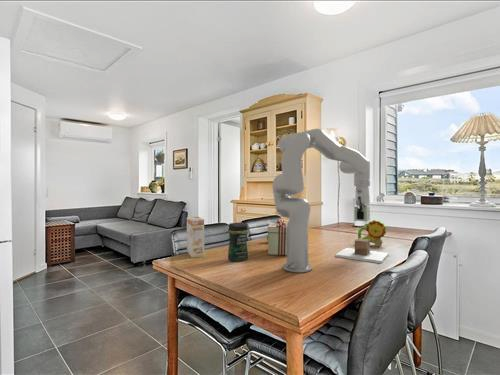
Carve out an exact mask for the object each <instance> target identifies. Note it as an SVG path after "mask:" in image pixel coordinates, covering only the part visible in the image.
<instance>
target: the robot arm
mask: <svg viewBox="0 0 500 375" xmlns="http://www.w3.org/2000/svg"><path fill="white" fill-rule="evenodd" d="M278 149H279V151H280V152H281V153H283V154H282V156H281V173H280V174H277V175H276V176H275V177H274V179H273V180H272V194H273V199H274V206H275V210H276V212H277V214H278V215H279V216H281V217H284V218H288V221H287V223H288V224H287V229H286V233H287V255H286V262H285V263H284V264H283V265H282V269H283V270H285V271H287V272H291V273H300V274H301V273H307V272H308V273H309V272H310V271H312V270H313V266H312V265H311V264H309V220H310V215H311V205H310V202H309V201H308V200H307V199H305V198H303V197H296V196H295V195H299V194H301V193H302V192H303V190H304V187H305V186H304V178H303V176H304V175H303V171H302V159H303V156H304V154H305V153H306V151H307V150H308V149H314V150H316V151H317V152H319V153H320V154H321V155H323V156H324V157H325V158H326V159H328V160H332V161H335V162H336V161H337V162H339V165H338V166H339V168H338V169H339V170H340V171H341V173H343V174H346V175H347V174H349V175H351V174H353V175H354V176H353V179H354V180H353V181H354V182H353V187H355V194H354V195H355V198H354V199H355V200H354V201H355V206H357V219H364V211H363V206H370V203H371V201H370V199H371V198H370V186H371V162H370V160H369V159H368V158H366V157H365V156H364V155H362V153H361V152H359V151H358V150H355V149H353V148H352V147H348V146H346V145H343V144H340V143H339V142H338V141H336V140H335V139H334V138H332V137H331V136H330V135H329V134H328V133H327V132H325V131H324V130H323V129H321V128H313V129H309V130H304V131H300V132H295V133H290V134H287V135H284V136H282V137H281V138H280V139H279V141H278ZM361 207H362V208H361Z"/></svg>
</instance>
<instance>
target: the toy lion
mask: <svg viewBox="0 0 500 375" xmlns="http://www.w3.org/2000/svg"><path fill="white" fill-rule="evenodd" d="M363 230H364V231H366V232H367V233H368V235H365V236H362V231H363ZM386 234H387V226H386V225H385V223H384V222H381V221H380V220H376V219H373V220H369V221H368V223H366V225H365V226H362V227H360V228H359V229H358V232H357V239H368V240H370V243H372V244H374V245H375V246H376V247H382V244H383V242H384V241H383V240H382V238H383V237H385V236H386Z"/></svg>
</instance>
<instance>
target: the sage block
mask: <svg viewBox="0 0 500 375" xmlns="http://www.w3.org/2000/svg"><path fill="white" fill-rule="evenodd" d="M361 208H362V207H361ZM370 208H371V207H370V205H367V206H363V211H364V219H357V205H355V206H354V209H353V210H354V212H353V213H354V220H353V221H355V222H370V221H371V219H370V218H371V217H370V216H371V215H370V212H371V211H370V210H371V209H370Z"/></svg>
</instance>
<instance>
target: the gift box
mask: <svg viewBox="0 0 500 375" xmlns="http://www.w3.org/2000/svg"><path fill="white" fill-rule="evenodd" d="M287 224H288V222H285V220H284V219H277V220H276V222H275V223H274V222H269V223H268V226H267V235H268V240H267V254H268V255H275V256H277V255H278V256H287V233H286V229H287Z"/></svg>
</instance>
